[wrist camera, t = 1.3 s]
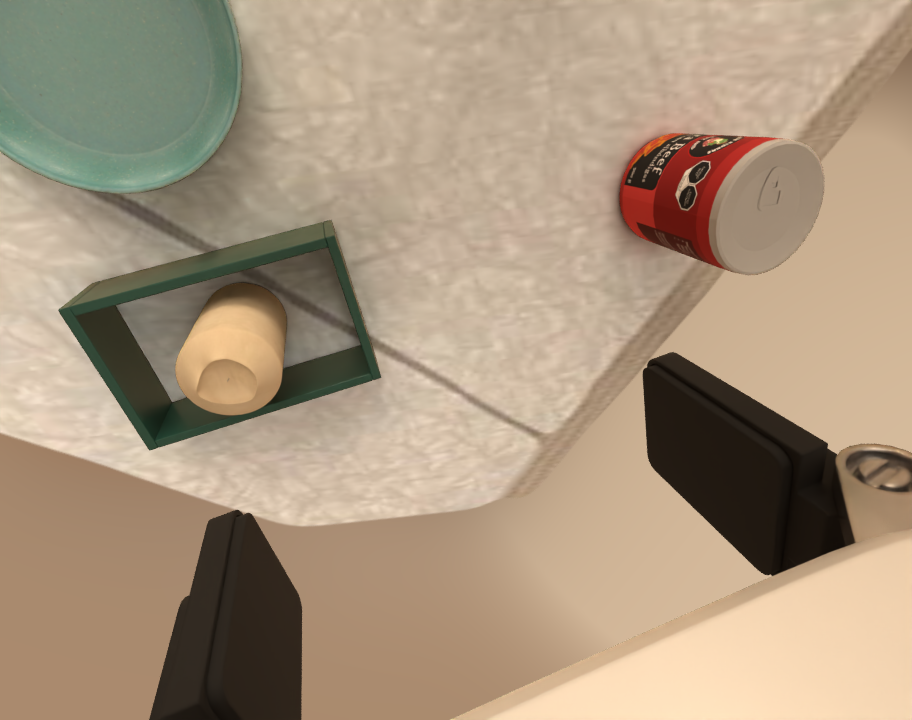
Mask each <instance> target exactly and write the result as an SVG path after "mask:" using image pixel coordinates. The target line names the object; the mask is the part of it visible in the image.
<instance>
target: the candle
mask: <svg viewBox="0 0 912 720" xmlns="http://www.w3.org/2000/svg"><path fill="white" fill-rule="evenodd" d="M286 329H287V319H286V314H285V311H284V308H283V306H282V304H281V303H280V301H279V300H278V299H277V298H276V297H275V296H274V295H273V294H272V293H271V292H269V291H268V290H266V289H264V288H262V287H260V286H257V285H254V284H249V283H236V284H231V285H228V286H225V287H223V288H221V289H219V290H218V291H216V292H215V293H214V294H213V295H212V296H211V297H210V298H209V299H208V301H207V303H206V304H205V306H204V308H203V309H202V311H201V313H200V315H199V317H198V319H197V321H196V323H195V325H194V326H193V328H192V330H191V332H190V334H189V336H188V338H187V340H186V341H185V343H184V345H183V347H182V349H181V351H180V353H179V355H178V358H177V361H176V369H175V372H176V378H177V382H178V384H179V386H180V388H181V390H182V391H183V393H184V394H185V395H186V396H187V398H188V399H190V400H191V401H192V402H193V403H194V404H196V405H197V406H199V407H201V408H203V409H204V410H207V411H209V412H213V413H216V414H221V415H241V414H246V413H250V412H253V411H256V410H258V409H260V408H261V407H263V406H264V405H266V404H267V403H268V402H269V401H271V399H272V398H273V397H274V396H275V395H276V393H277V391H278V389H279V387H280V384H281V380H282V372H283V361H284V351H285V340H286Z"/></svg>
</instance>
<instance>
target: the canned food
mask: <svg viewBox="0 0 912 720" xmlns="http://www.w3.org/2000/svg"><path fill="white" fill-rule="evenodd" d="M823 193H824V173H823V167H822V164H821V162H820V159H819V157H818V156H817V154H816V153H815V152H814V150H813V149H812V148H810V147H809V146H808V145H806V144H805V143H802V142H799V141H794V140H790V139H780V138H769V137H746V136H724V135H702V134H668V135H664V136H662V137H660V138H657V139H655V140H653V141H651V142H649V143H648V144H647V145H645V146H644V147H643V148H641V149H640V150H639V151H638V153H637V154H636V155H635V156H634V157H633V159H632V160H631V162H630V163H629V165H628V167H627V169H626V171H625V173H624V176H623V179H622V182H621V187H620V194H619V195H620V208H621V213H622V215H623V218H624V220H625V222H626V223H627V225H628V226H629V227H630V228H631V230H632V231H633V232H634V233H635V234H637V235H638V236H639V237H641V238H643V239H645V240H648V241H651V242H653V243H656V244H658V245H661V246H664V247H666V248H669V249H672V250H674V251H677V252H679V253H682V254H685V255H687V256H690V257H693V258H695V259H698V260H701V261H703V262H706V263H708V264H711V265H714V266H716V267H719V268H722V269H725V270H728V271H731V272H735V273H739V274H745V275H758V274H761V273H765V272H768V271H770V270H772V269H774V268H776V267H777V266H779V265H780V264H782V263H783V262H784V261H786V260H787V259H788V258H789V257H790V256H791V255H792V254H793V253H794V252H795V251H796V250H797V249H798V248H799V247H800V246H801V244H802V243H803V242H804V241H805V239H806V237H807V236H808V234H809V233H810V231H811V229H812V227H813V225H814V223H815V221H816V219H817V217H818V214H819V211H820V207H821V204H822V200H823Z"/></svg>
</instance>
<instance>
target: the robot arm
mask: <svg viewBox="0 0 912 720" xmlns="http://www.w3.org/2000/svg"><path fill="white" fill-rule="evenodd" d="M643 387H644V402H645V403H644V404H645V420H646V437H647V453H648V459H649V462H650V464H651V466H652V467H653V468H654V470H655V471H656V472H657V473H658V474H659V475H660V476H661V477H662V478H663V479H665V480H666V482H668V483H669V484H670V485H671V486H672V487H673V488H674V489H675V490H676V491H677V492H678V493H679V494H680V495H681V496H682V497H683V498H684V499H685V500H686V501H687V502H688V503H689V504H690V505H691V506H692V507H693V508H694V509H695V510H696V511H697V512H699V513H700V514H701V515H702V516H703V517H704V518H705V519H706V520H707V521H708V522H709V523H710V524H711V525H712V526H713V527H714V528H715V529H716V530H717V531H718V532H719V533H720V534H721V535H722V536H723V537H724V538H725V539H726V540H728V542H730V543H731V544H732V545H733V546H734V547H735V548H736V549H737V550H738V551H739V552H740V553H741V554H742V555H743V556H744V557H745V558H746V559H747V560H748V561H749V562H750V563H751V564H752V565H753V566H754V567H755V568H756V569H758V570H759V571H760V572H761V573H763V574H765V575H770V574H771V575H772V577H770V578H767V579H765V580H763V581H760V582H758V583H756V584H753V585H751V586H749V587H746V588H744V589H742V590H740V591H737V592H735V593H733V594H731V595H728V596H726V597H724V598H722V599H719V600H717V601H715V602H712V603H711V604H708V605H706V606H703V607H701V608H699V609H696V610H694V611H692V612H690V613H687V614H685V615H683V616H681V617H678V618H676V619H674V620H671V621H669V622H667V623H665V624H662V625H660V626H658V627H656V628H653V629H651V630H649V631H647V632H644V633H642V634H640V635H638V636H635V637H633V638H631V639H629V640H627V641H624V642H622V643H620V644H617V645H615V646H613V647H611V648H608V649H606V650H604V651H602V652H599V653H597V654H595V655H593V656H591V657H588V658H586V659H584V660H582V661H579V662H577V663H575V664H573V665H571V666H569V667H566V668H564V669H561V670H559V671H557V672H555V673H553V674H550V675H548V676H546V677H544V678H542V679H539V680H537V681H535V682H532V683H530V684H528V685H526V686H524V687H522V688H519V689H517V690H515V691H512V692H510V693H508V694H506V695H504V696H501V697H500V698H497V699H495V700H493V701H490V702H488V703H486V704H484V705H482V706H479V707H477V708H475V709H473V710H471V711H468V712H466V713H464V714H462V715H460V716H457V717H455V718H453V719H451V720H912V453H911V452H909V451H906V450H903V449H899V448H896V447H893V446H887V445H880V444H859V445H854V446H849V447H847V448H845V449H843V450H841V451H840V452H839V454H838V455H837V454H836V453H834V452H832V451H831V450H829V449H827V447H828V444H827V443H826V442H824V441H823V440H821V439H819V438H818V437H816V436H814V435H813V434H811V433H809V432H808V431H806V430H804V429H803V428H801V427H799V426H797V425H796V424H794V423H793V422H791V421H789V420H787V419H786V418H784V417H782V416H781V415H779V414H777V413H776V412H774V411H772V410H771V409H769V408H767V407H766V406H764V405H762V404H761V403H759V402H757V401H756V400H754V399H752V398H751V397H749V396H747V395H746V394H744V393H742V392H741V391H739V390H737V389H736V388H734V387H732V386H731V385H729V384H727V383H726V382H724V381H722V380H721V379H719V378H717V377H715V376H714V375H712V374H710V373H709V372H707V371H705V370H704V369H702V368H700V367H699V366H697V365H695V364H694V363H692V362H690V361H689V360H687V359H685V358H684V357H682V356H680V355H678V354H677V353H674V352H672V353H668V354H665V355H662V356H660V357H657V358H654V359H651V360H650V361H649V362H648V364H647V368H645V369H644V370H643ZM301 675H302V606H301V601H300V597H299V595H298V593H297V591H296V589H295V588H294V586H293V584H292V582H291V581H290V579H289V577H288V576H287V574H286V572H285V570H284V568H283V567H282V565H281V563H280V562H279V560H278V558H277V556H276V555H275V553H274V551H273V550H272V548H271V546H270V544H269V543H268V541H267V539H266V538H265V536H264V534H263V532H262V531H261V529H260V527H259V525H258V524H257V522H256V520H255V519H254V517H253V516H252V514H250V513H247V514H244V515H243V514H242V512H240V511H239V510H235V511H232V512H230V513H227V514H224V515H221V516H218V517H216V518H213V519H211V520H209V521H208V524H207V528H206V531H205V535H204V539H203V543H202V547H201V551H200V556H199V560H198V564H197V567H196V571H195V576H194V579H193V584H192V588H191V592H190V595H189V596H187V597H185V598H184V599H183V601H182V602H181V604H180V607H179V609H178V613H177V617H176V621H175V625H174V629H173V632H172V636H171V640H170V643H169V647H168V651H167V655H166V658H165V662H164V666H163V670H162V674H161V677H160V681H159V685H158V689H157V693H156V696H155V700H154V704H153V708H152V711H151V715H150V719H149V720H301V684H302V683H301V682H302V676H301Z"/></svg>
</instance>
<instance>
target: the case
mask: <svg viewBox="0 0 912 720" xmlns="http://www.w3.org/2000/svg"><path fill="white" fill-rule="evenodd" d="M327 247H328V248H329V251H330V254H331V257H332V260H333V263H334V266H335V269H336V272H337V275H338V278H339V281H340V284H341V287H342V290H343V292H344V295H345V298H346V301H347V304H348V307H349V310H350V313H351V316H352V319H353V322H354V325H355V328H356V331H357V334H358V337H359V340H360V343H361V346H357V347H354V348H351V349H347V350H344V351H341V352H338V353H334V354H331V355H328V356H324V357H321V358H318V359H314V360H311V361H308V362H305V363H301V364H298V365H295V366H291V367H288V368H285V369H283V372H282V380H281V384H280V387H279V389H278V391H277V393H276V395H275V396H274V397H273V398H272V399H271V401H269V402H268V403H267V404H266V405H264V406H263V407H261V408H260V409H258V410H256V411H253V412H250V413H246V414H241V415H221V414H216V413H213V412H209V411H207V410H204V409H203V408H201V407H199V406H197V405H196V404H194V403H193V402H192V401H191V400H190V399H188V398H186V399H183V400H179V401H176V402H173V403H172V402H171V400H170V398H169V397H168V395H167V393H166V392H165V390H164V388H163V387H162V385H161V383H160V381H159V380H158V378H157V376H156V375H155V373H154V371H153V370H152V368H151V366H150V364H149V363H148V361H147V359H146V358H145V356H144V354H143V352H142V351H141V349H140V347H139V346H138V344H137V342H136V341H135V339H134V337H133V335H132V334H131V332H130V330H129V329H128V327H127V325H126V323H125V322H124V320H123V318H122V317H121V315H120V313H119V312H118V310H117V308H116V306H115V305H118V304H122V303H125V302H129V301H133V300H136V299H140V298H144V297H147V296H151V295H155V294H158V293H162V292H166V291H169V290H173V289H177V288H180V287H184V286H188V285H191V284H195V283H199V282H202V281H206V280H210V279H213V278H217V277H221V276H224V275H228V274H232V273H235V272H239V271H243V270H246V269H250V268H254V267H257V266H261V265H265V264H268V263H272V262H276V261H279V260H283V259H286V258H290V257H294V256H297V255H301V254H305V253H308V252H312V251H316V250H319V249H323V248H327ZM59 312H60V314H61V315H62V317H63V319H64V320H65V322H66V323H67V325H68V326H69V328H70V329H71V331H72V332H73V334H74V335H75V337H76V338H77V340H78V342H79V343H80V345H81V346H82V348H83V349H84V351H85V352H86V354H87V355H88V357H89V358H90V360H91V362H92V363H93V365H94V366H95V368H96V369H97V371H98V372H99V374H100V375H101V377H102V378H103V380H104V381H105V383H106V385H107V386H108V388H109V389H110V391H111V392H112V394H113V395H114V397H115V398H116V400H117V401H118V403H119V405H120V406H121V408H122V409H123V411H124V412H125V414H126V415H127V417H128V418H129V420H130V421H131V423H132V425H133V426H134V428H135V429H136V431H137V432H138V434H139V435H140V437H141V438H142V440H143V441H144V443H145V444H146V446H147V448H148V449H149V450H153V449H156V448H158V447H162V446H165V445H168V444H172V443H175V442H178V441H181V440H184V439H188V438H191V437H194V436H197V435H200V434H204V433H207V432H210V431H213V430H216V429H219V428H223V427H226V426H229V425H232V424H235V423H239V422H242V421H245V420H248V419H251V418H254V417H258V416H261V415H264V414H267V413H270V412H274V411H277V410H280V409H283V408H286V407H289V406H293V405H296V404H299V403H302V402H305V401H309V400H312V399H315V398H318V397H321V396H324V395H328V394H331V393H334V392H337V391H340V390H344V389H347V388H350V387H353V386H356V385H359V384H363V383H366V382H369V381H372V380H375V379H379V378H381V375H380V371H379V367H378V364H377V360H376V357H375V353H374V350H373V346H372V343H371V340H370V337H369V334H368V331H367V328H366V325H365V322H364V319H363V316H362V312H361V309H360V306H359V303H358V300H357V297H356V294H355V291H354V288H353V285H352V282H351V279H350V276H349V272H348V269H347V266H346V263H345V260H344V257H343V254H342V251H341V248H340V245H339V242H338V239H337V236H336V232H335V229H334V226H333V223H332V221H331V220H329V221H325V222H321V223H317V224H314V225H310V226H306V227H302V228H299V229H295V230H291V231H287V232H283V233H280V234H276V235H272V236H268V237H265V238H261V239H257V240H253V241H250V242H246V243H242V244H238V245H235V246H231V247H227V248H223V249H220V250H216V251H212V252H208V253H205V254H201V255H197V256H193V257H189V258H186V259H182V260H178V261H174V262H171V263H167V264H163V265H159V266H156V267H152V268H148V269H144V270H141V271H137V272H133V273H129V274H126V275H122V276H118V277H114V278H110V279H107V280H103V281H101V282H100V281H99V282H95V283H92V284H91V285H89V286H88V287H87V288H86V289H84V290H83V291H82V292H80V293H79V294H78V295H77V296H75V297H74V298H73V299H72V300H70V301H69V302H68V303H67V304H65V305H64V306H63V307H61V308H60V309H59Z"/></svg>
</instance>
